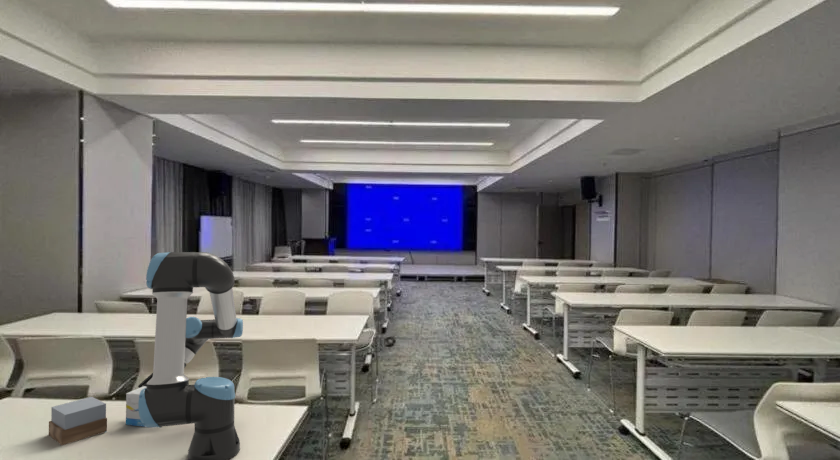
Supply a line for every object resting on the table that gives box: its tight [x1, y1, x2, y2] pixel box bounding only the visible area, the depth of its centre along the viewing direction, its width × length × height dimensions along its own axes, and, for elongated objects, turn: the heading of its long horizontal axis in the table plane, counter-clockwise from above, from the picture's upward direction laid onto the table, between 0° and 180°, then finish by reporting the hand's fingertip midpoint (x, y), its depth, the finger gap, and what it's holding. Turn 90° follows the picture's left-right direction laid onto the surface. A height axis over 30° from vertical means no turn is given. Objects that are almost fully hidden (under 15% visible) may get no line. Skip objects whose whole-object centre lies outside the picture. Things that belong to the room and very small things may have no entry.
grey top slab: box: [50, 396, 107, 430], centre depth 158 cm, size 12×12×5 cm
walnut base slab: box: [48, 417, 108, 446], centre depth 158 cm, size 13×13×5 cm
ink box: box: [125, 386, 147, 428], centre depth 168 cm, size 8×8×12 cm
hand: (135, 411), depth 166 cm, fingers closed on ink box, 11 cm apart
